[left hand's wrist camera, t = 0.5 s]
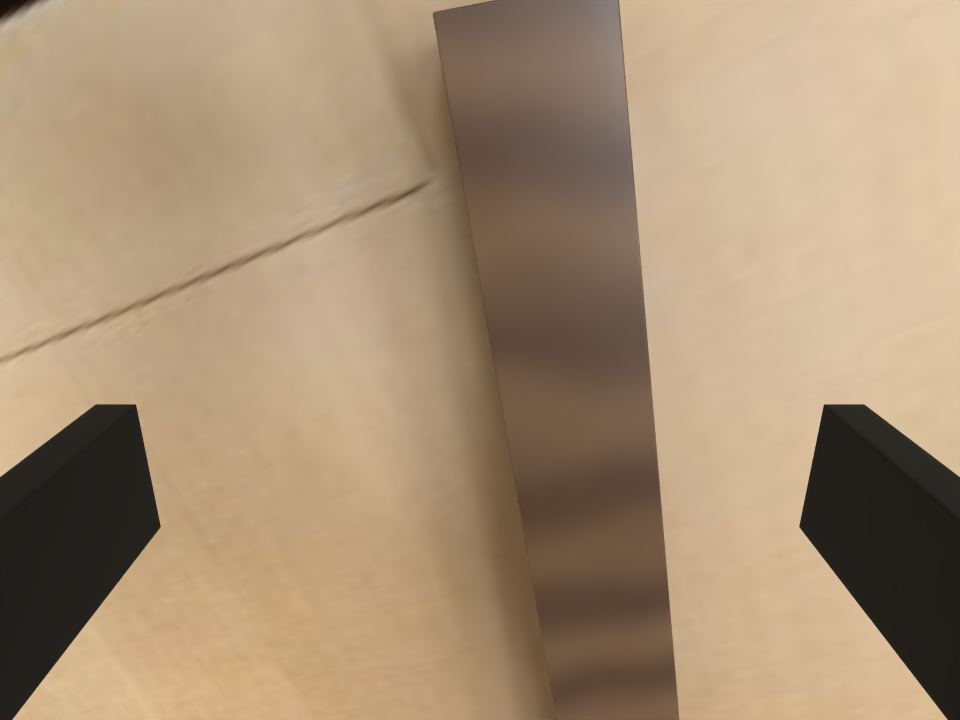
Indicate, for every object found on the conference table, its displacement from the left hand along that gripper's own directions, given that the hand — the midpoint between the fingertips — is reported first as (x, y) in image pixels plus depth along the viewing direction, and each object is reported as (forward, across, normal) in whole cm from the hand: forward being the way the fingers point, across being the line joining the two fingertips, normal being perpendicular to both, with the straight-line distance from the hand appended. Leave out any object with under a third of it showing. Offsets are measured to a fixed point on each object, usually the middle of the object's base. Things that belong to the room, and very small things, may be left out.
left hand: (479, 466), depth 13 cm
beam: (+21, +5, -13) cm, 25 cm away
